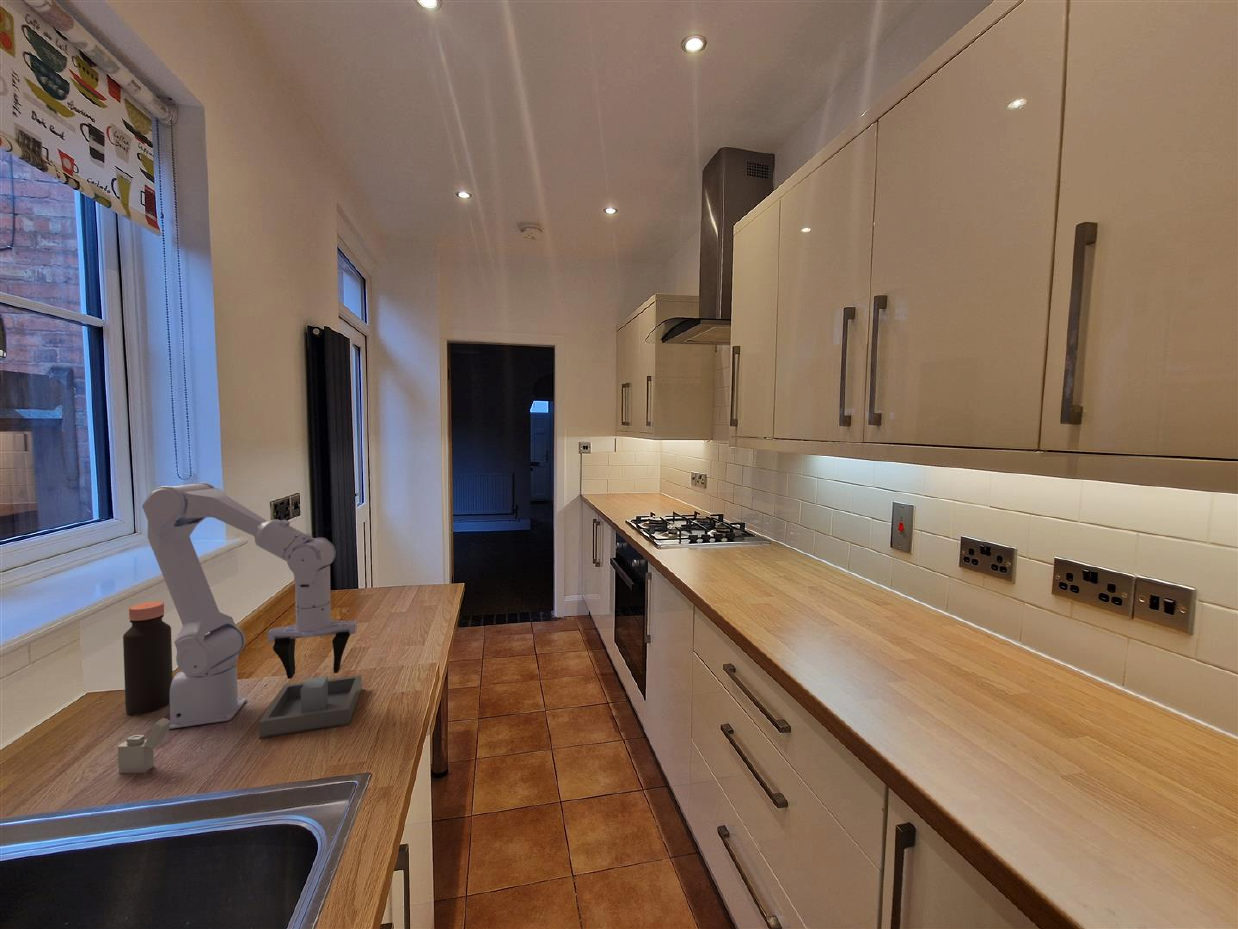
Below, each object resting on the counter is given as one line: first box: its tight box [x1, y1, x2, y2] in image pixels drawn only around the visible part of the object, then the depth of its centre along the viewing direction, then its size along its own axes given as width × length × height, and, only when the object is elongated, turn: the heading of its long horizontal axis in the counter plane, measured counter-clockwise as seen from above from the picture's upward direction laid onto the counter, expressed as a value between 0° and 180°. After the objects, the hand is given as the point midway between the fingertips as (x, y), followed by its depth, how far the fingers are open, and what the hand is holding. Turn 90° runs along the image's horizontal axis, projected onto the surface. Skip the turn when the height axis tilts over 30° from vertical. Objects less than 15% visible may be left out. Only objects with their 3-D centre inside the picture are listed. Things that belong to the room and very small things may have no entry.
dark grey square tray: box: [258, 675, 363, 740], centre depth 96 cm, size 14×14×3 cm
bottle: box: [122, 601, 174, 715], centre depth 97 cm, size 7×7×20 cm
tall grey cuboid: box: [301, 676, 329, 713], centre depth 96 cm, size 4×4×6 cm
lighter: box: [117, 717, 172, 774], centre depth 79 cm, size 7×2×8 cm, turn 91°
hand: (314, 673), depth 96 cm, fingers open, 7 cm apart
